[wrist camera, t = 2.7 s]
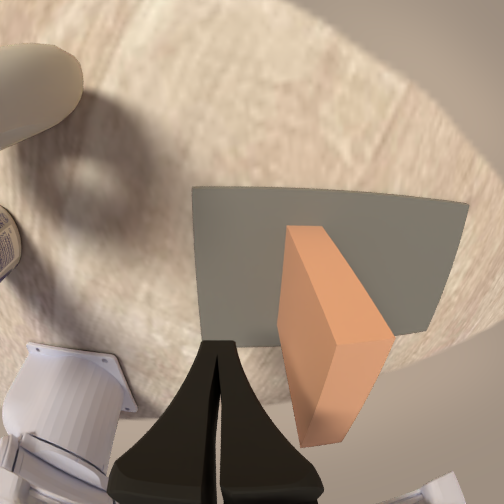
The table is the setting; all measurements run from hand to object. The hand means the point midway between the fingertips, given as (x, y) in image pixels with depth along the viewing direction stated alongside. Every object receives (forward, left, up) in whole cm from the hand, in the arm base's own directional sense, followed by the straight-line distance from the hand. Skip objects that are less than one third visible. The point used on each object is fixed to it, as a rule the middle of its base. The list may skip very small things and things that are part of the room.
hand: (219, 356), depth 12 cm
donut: (-11, +11, -7) cm, 17 cm away
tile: (+4, 0, -6) cm, 8 cm away
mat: (+7, 0, -6) cm, 10 cm away
